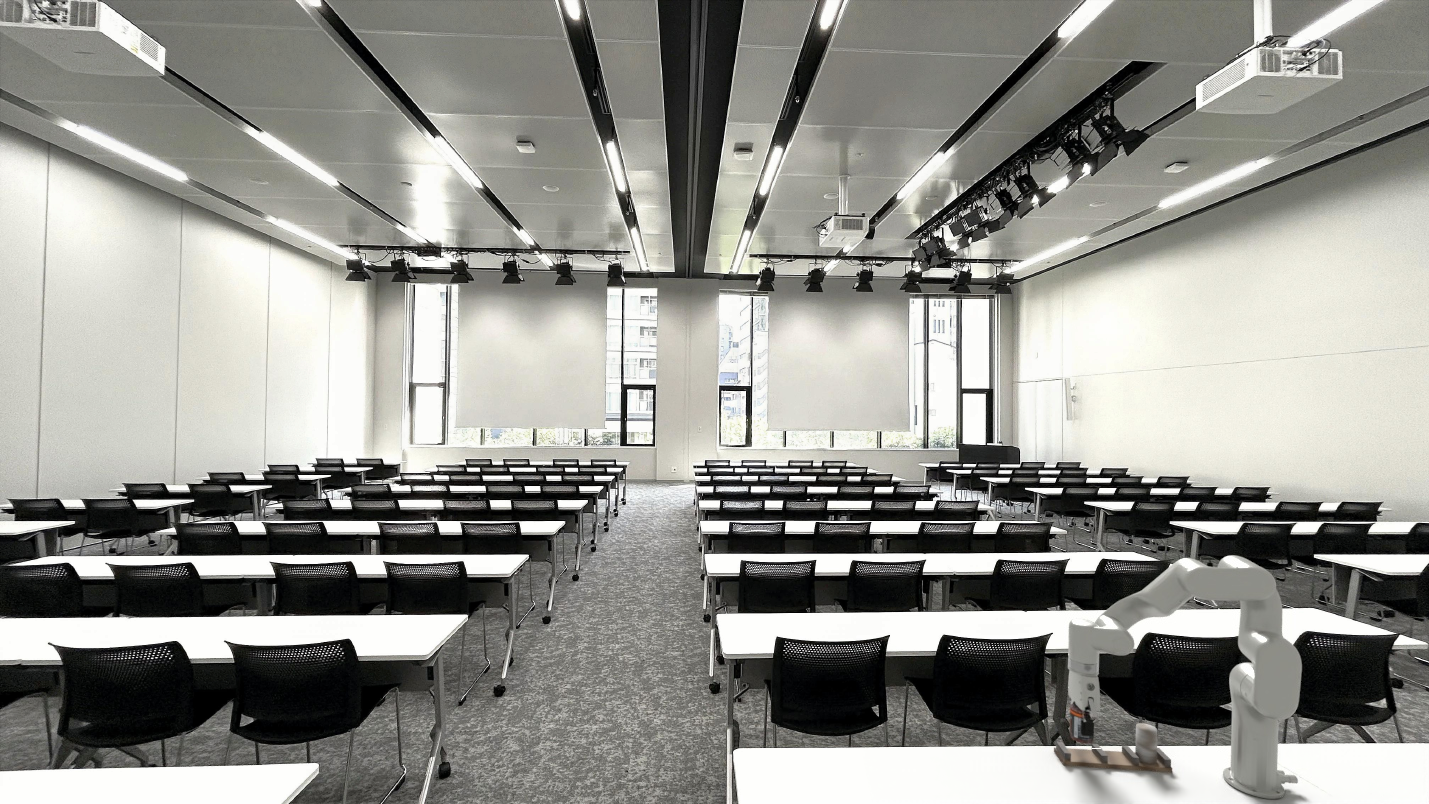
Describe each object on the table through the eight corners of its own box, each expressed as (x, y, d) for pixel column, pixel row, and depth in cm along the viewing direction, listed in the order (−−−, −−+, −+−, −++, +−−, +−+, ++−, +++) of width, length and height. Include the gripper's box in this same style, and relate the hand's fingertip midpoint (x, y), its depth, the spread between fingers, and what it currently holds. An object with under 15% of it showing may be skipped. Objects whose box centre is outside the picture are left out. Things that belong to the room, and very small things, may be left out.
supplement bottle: (1070, 731, 191) (1070, 692, 190) (1093, 737, 188) (1094, 697, 187) (1068, 740, 186) (1069, 700, 185) (1093, 746, 183) (1094, 706, 182)
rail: (1158, 758, 188) (1158, 722, 188) (1172, 772, 181) (1173, 735, 181) (1053, 751, 191) (1054, 716, 191) (1063, 765, 184) (1064, 729, 184)
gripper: (1112, 679, 177) (1110, 746, 178) (1083, 653, 194) (1082, 714, 195) (1082, 678, 178) (1081, 744, 178) (1056, 652, 195) (1055, 712, 196)
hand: (1081, 728), depth 187 cm, fingers closed on supplement bottle, 6 cm apart
